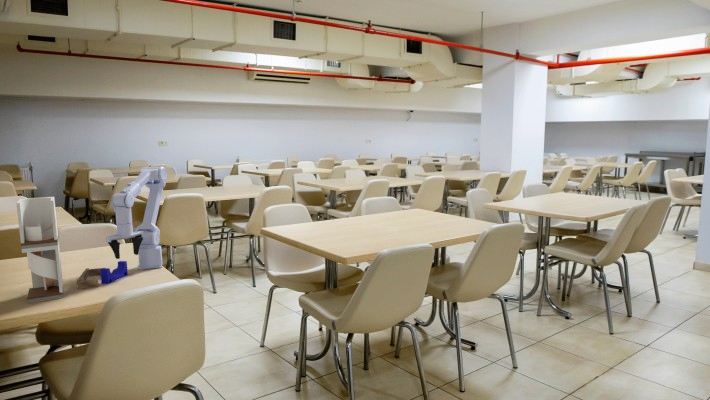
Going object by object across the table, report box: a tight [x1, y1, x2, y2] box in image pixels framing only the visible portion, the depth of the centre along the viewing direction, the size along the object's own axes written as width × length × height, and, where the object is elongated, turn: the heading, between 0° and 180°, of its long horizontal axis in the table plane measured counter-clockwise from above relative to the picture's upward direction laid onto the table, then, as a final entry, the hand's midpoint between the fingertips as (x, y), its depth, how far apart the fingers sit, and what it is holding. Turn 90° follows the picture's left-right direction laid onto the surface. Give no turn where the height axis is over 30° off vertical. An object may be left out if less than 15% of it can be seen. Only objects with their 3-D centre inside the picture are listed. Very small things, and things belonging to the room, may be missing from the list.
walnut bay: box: [76, 267, 103, 289], centre depth 197 cm, size 7×18×3 cm, turn 18°
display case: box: [16, 196, 64, 304], centre depth 178 cm, size 11×11×35 cm
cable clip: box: [100, 260, 129, 285], centre depth 199 cm, size 12×4×6 cm, turn 170°
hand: (127, 256), depth 201 cm, fingers open, 7 cm apart
